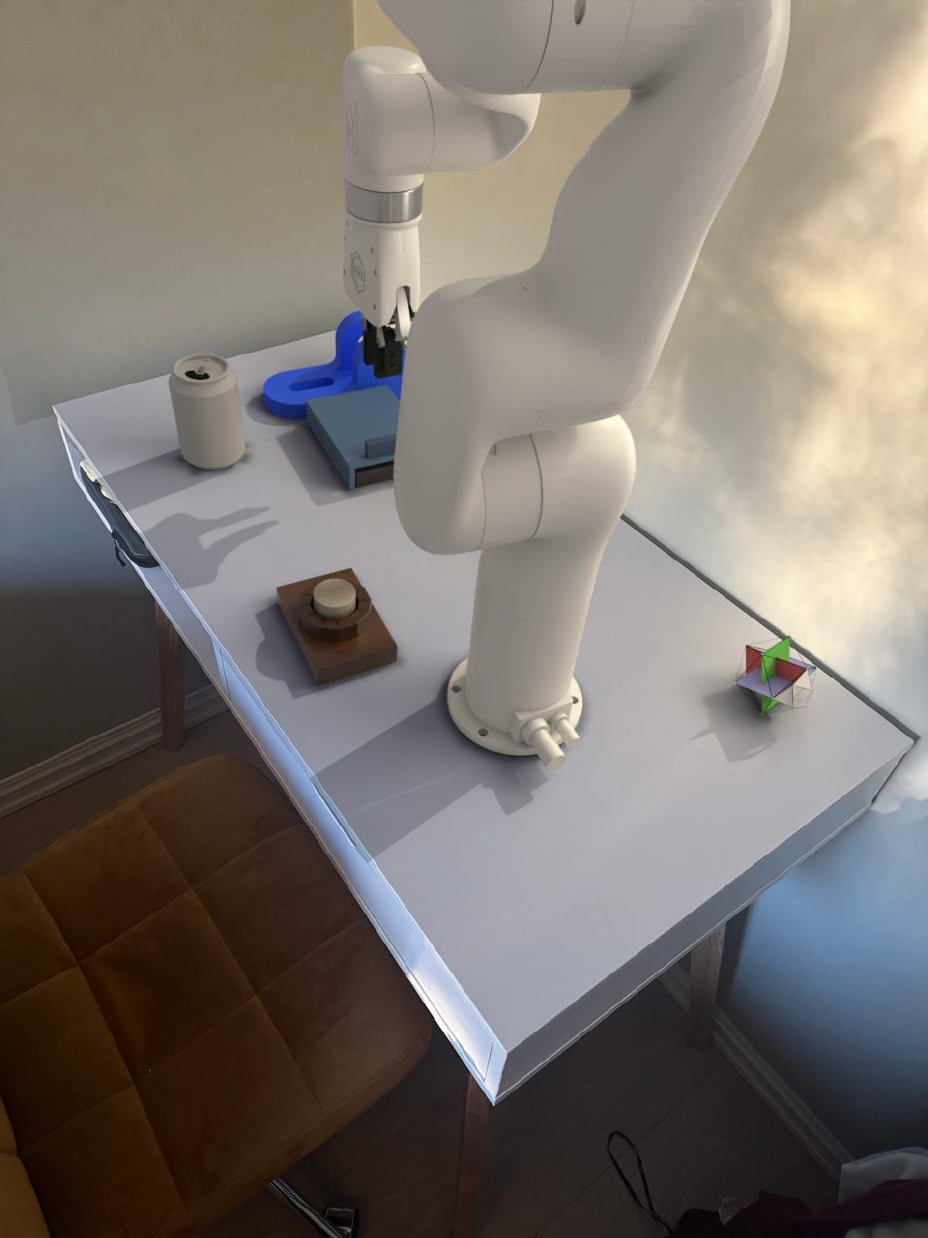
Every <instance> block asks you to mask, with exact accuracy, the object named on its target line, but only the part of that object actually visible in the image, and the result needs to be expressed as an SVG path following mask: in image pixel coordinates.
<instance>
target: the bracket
mask: <svg viewBox="0 0 928 1238" xmlns="http://www.w3.org/2000/svg"><path fill="white" fill-rule="evenodd" d="M387 326H388V325H386V327H387ZM363 330H367V329H364V328H363V326H362V313H361V312H360V310H355V311H353V312H351V313H349V314H347V315H346V316H345V317H344V318H343V319H342V320H341V321H340V323H339V324H338V326H337V328H336V330H335V335H334V336H335V337H334V341H335V356H334V358H333V360H332V361H331V362H329V363H326V364H319V365H314V366H307V367H301V368H295V369H289V370H284V371H281V372H277V373H274V374H273V375H271V376H269V377H268V378H267V379H266V380H265V381H264V383H263V387H262V388H263V399H264V406H265V408H266V409H267V410H268V411H269V412H270V413H272V414H274V415H276V416H279V417H281V418H286V419H296V420H299V419H307V415H306V400H310V399H315V398H320V397H325V396H331V395H336V394H341V393H346V392H351V391H357V390H362V389H367V388H372V387H377V386H383V385H388V386H389V387H390V389H391V390H392V391H393V392H394V394H395V395H396V396H397V398H398V399H399V400H400V398H401V389H402V379H403V370H404V360H405V352H406V348H405V347H404V346H403V359H402V373H401V374H400V375H396V376H391V377H385V378H380V379H377V378H376V377H375V376H374V364H373V365H365V363H364V362H363V339H361V338H363ZM360 339H361V340H360Z"/></svg>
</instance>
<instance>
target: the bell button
mask: <svg viewBox="0 0 928 1238" xmlns="http://www.w3.org/2000/svg"><path fill="white" fill-rule="evenodd" d="M313 600H314V609H315V611H316V613H317V614H318V615H319V616H321V617H323V618H325V619H330V620H339V619H343V618H346V617H348V616H350V615H351V614H352V613H353V612H354V610H355V607H356V592H355V589H354V587H353V586H352V585H351V584H350V583H349V582H347V581H345V580H342V579H328V580H325V581H322V582H321V583H319V584H318V585H317V586H316V587H315V589H314V591H313Z"/></svg>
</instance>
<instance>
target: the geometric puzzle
mask: <svg viewBox="0 0 928 1238" xmlns="http://www.w3.org/2000/svg"><path fill="white" fill-rule="evenodd" d="M791 636H792V635H791V634H789V635H787V636H786V637H784V636H783V637H781V639H782V638H784V639H782V640H781V641H779V642H778V643H776V644H774V645H773V646H772V647H770V648H768V649H765V648H761V647H757V646H752V643H750V644H745V648H744V649H745V653H743V655H742V658H741V659H743V658H744V655H745V671H744V672H743V673H742V674H741V675H740V677H736V678H735V681H734V682H733V683H734V685H737V686H739V687H740V686H741V687H743V688H746V689H748V690H750V692H751V694H752V696H753V699H754V700H755V703H756V705H757V707H758V710H759V712H760V715H761V716H763V715H765V714H767V713H766V712H769V710H770V709H772V708H774V707H775V706H776V705H778V704H779V703H780V704H783V705H785V706H787V707H790V708H791V709H792V710H793V709H796V708H800V709H801V708H805V707H806V708H807V707H808V704H809V701H810V698H811V697H812V693H813V683H814V678H813V679H812V680H811V676H810V675H812V673H816V671H817V669H818V666H816V665H812V664H810V663H806V662H805V661H804V659H803V658H802V656H801V654H800V652H799V650H798V649H800V650H802V648H800V646H799V645H796V641H795V640H794V639H793V638H792V637H791ZM778 639H780V637H779V638H776V640H778ZM773 640H775V638H773V639H772V641H773ZM768 641H770V639H769V640H767V642H768ZM790 641H792V644H793V645H794V648H795V649H796V651H797V654H798V655H799V656H800V658H801V660H798V659H796V658H793V657H791V656H790V653H791V652H790V651H791V650H790V649H791V647H790V646H791V645H790V644H791V642H790ZM765 642H766V640H764V641H762V643H765ZM759 643H761V642H760V641H759V642H758V644H759ZM755 644H756V642H754V643H753V645H755ZM797 647H798V648H797ZM803 654H804V656H807V654H806V653H805V652H803ZM808 660H809V661H810V662H811V663H813V662H812V661H811V659H810V658H808ZM742 661H743V660H741V662H740V665H739V668H738V669H740V668H741V665H742ZM739 671H740V670H738V671H737V675H736V676H738V675H739ZM815 676H816V674H814V675H813V677H815ZM737 678H738V679H737ZM811 681H812V682H811ZM740 690H741V689H740ZM741 692H742V693H744V691H742V690H741ZM753 692H754V693H757V694H760V695H761V708H760V705H759V704H758V701H757V699H756V698H755V695H754V693H753ZM747 698H748V697H747ZM748 699H749V700H750V698H748ZM753 705H754V706H755V704H753ZM755 707H756V706H755ZM757 707H756V708H757ZM790 708H789V709H788V708H787V711H788V710H790ZM782 711H783V712H784V709H783V710H781V712H782ZM777 712H778V711H776V710H775V713H777ZM771 713H773V711H772V712H769V714H771Z"/></svg>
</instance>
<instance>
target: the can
mask: <svg viewBox="0 0 928 1238" xmlns="http://www.w3.org/2000/svg"><path fill="white" fill-rule="evenodd" d="M171 369H172V371H171V372H172V373H171V374H170V375H169V377H168V386H169V387H168V388H169V393H170V399H171V404H172V410H173V416H174V422H175V427H176V434H177V438H178V444H179V449H180V454H181V456H182V458H183V459H184V460H185V461H186V462H187V463H188V464H191V465H193V466H194V467H196V468H199V469H201V470H208V471H216V470H217V471H219V470H222V469H226V468H228V467H231V466H233V465H234V464H235V463H237V461H239V460H240V459H241V458H242V457H243V456H244V454H245V452H246V439H245V432H244V423H243V415H242V407H241V399H240V390H239V380H238V375H237V374H236V372H235V371H234V370H233V369H232V368H231V364H230V362H229V361H228V360H227V359H226V358H224V357H223V356H220V355H217V354H215V353H207V352H206V353H204V352H203V353H202V352H201V353H199V352H198V353H192V354H188V355H186V356H183V357H181V358H179V359H178V360H176V361H175V363H174V364H173V365H172V368H171Z"/></svg>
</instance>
